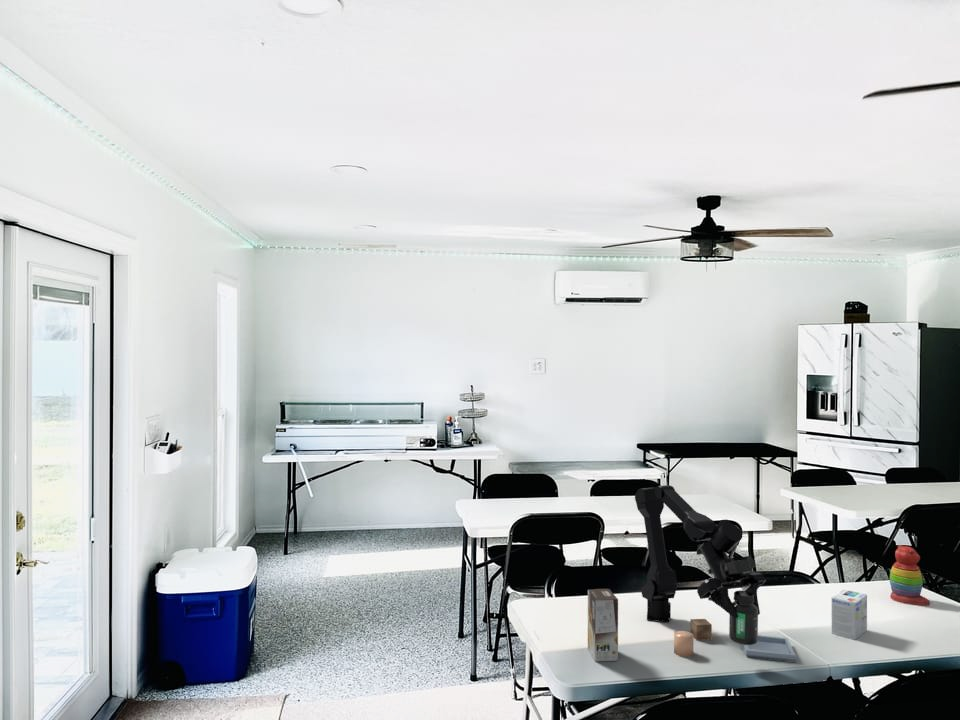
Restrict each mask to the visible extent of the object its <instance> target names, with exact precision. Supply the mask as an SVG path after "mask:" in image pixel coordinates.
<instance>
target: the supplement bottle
mask: <svg viewBox="0 0 960 720" xmlns="http://www.w3.org/2000/svg"><path fill="white" fill-rule="evenodd" d="M731 602H732V604H733V606H734V608H735V610H736V612H737V615H738V618H737V619H735V618H734V617H732V616H731V615H730V614H729V617H728V619H729V626H728V631H729V639H730V640H731V641H732V642H734V643H736V644H739V645H742V646H743V645H753V644H756V643H757V641H758V635H759V615H758V608H757V607H756V605H755V604H753V603H754V594H753V593H750V592H747V591H743V590H736V591H734V592H733V601H731Z"/></svg>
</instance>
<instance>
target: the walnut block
mask: <svg viewBox="0 0 960 720" xmlns="http://www.w3.org/2000/svg"><path fill="white" fill-rule="evenodd" d="M689 621H690V623H689V624H690V630H689V632H690V633H692V634H693V639H694V640H695V641H712V635H713V634H712V631H713V630H712V627H713V626H712V623H710V622H709V620H708V619H706V618H694V619H693V618H690V620H689Z"/></svg>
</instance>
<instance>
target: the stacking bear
mask: <svg viewBox="0 0 960 720" xmlns="http://www.w3.org/2000/svg"><path fill="white" fill-rule="evenodd" d="M894 556H895V557H894V558H895V560H896V561H895V562H894V563H893V564H892V566H891V569H890V573H889V584H890V590H891V593H890V597H889V598H890V599H892V600H893V601H895V602H897V603H903V604H907V605H913V606H930V604H931V601H930V600H929V599H928V598H926V597H925V596H923V595H921V593H922V589H923V583H924V582H923V576H922V572H921V569H920V566H918V563H919V562H920V560H921V556H920V555H919V554H918V552H917V551H916V550H915V549H914V548H913V547H911V546H908V545H907V546H906V545H905V546H904V545H902V544H898V545H897V549H896V550H895V553H894Z"/></svg>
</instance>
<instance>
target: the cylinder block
mask: <svg viewBox="0 0 960 720" xmlns="http://www.w3.org/2000/svg"><path fill="white" fill-rule="evenodd" d="M673 638H674V639H673V653H674V654H675V655H676V656H678V657H683V658H690V657H693V656H694V637H693V634H692V633H690V631H686V630H677V631H674V632H673Z"/></svg>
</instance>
